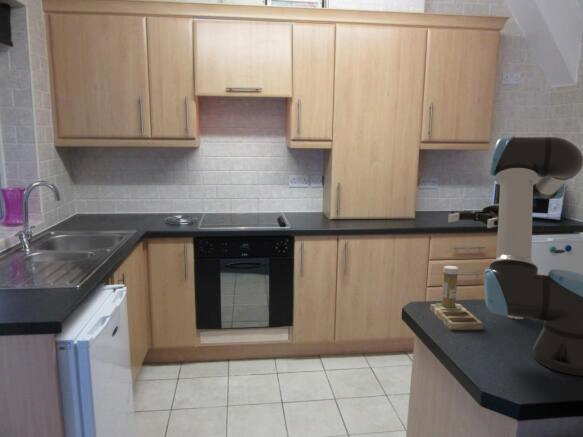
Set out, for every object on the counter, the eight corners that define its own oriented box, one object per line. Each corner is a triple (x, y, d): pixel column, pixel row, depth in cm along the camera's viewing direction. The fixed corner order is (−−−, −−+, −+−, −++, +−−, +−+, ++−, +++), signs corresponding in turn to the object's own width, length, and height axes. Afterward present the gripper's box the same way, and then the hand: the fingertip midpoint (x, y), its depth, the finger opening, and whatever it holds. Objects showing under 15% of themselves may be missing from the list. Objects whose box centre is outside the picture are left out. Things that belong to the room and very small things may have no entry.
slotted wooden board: (482, 329, 133) (483, 322, 133) (450, 329, 133) (450, 322, 132) (459, 309, 150) (459, 303, 149) (430, 309, 149) (430, 303, 149)
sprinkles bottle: (455, 309, 144) (458, 269, 141) (441, 307, 145) (443, 268, 143) (455, 304, 148) (458, 265, 146) (441, 302, 149) (443, 264, 147)
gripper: (529, 229, 154) (505, 237, 140) (461, 220, 172) (433, 226, 158) (531, 208, 153) (507, 214, 139) (462, 201, 171) (435, 206, 157)
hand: (468, 221), depth 148 cm, fingers open, 13 cm apart
